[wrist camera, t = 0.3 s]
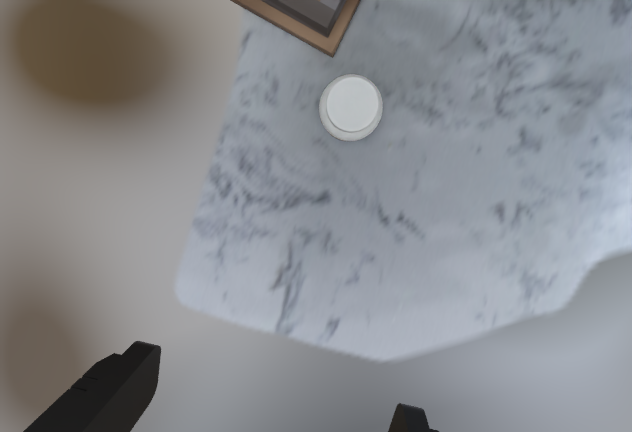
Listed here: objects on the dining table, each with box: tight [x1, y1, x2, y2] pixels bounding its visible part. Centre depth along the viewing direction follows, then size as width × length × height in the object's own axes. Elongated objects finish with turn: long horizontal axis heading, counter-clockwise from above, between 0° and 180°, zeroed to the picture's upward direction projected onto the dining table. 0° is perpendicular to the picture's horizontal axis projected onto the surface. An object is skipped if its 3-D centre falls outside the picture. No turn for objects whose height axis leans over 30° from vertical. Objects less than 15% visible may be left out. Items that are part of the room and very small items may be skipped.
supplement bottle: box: [319, 74, 383, 141], centre depth 29 cm, size 5×5×10 cm
